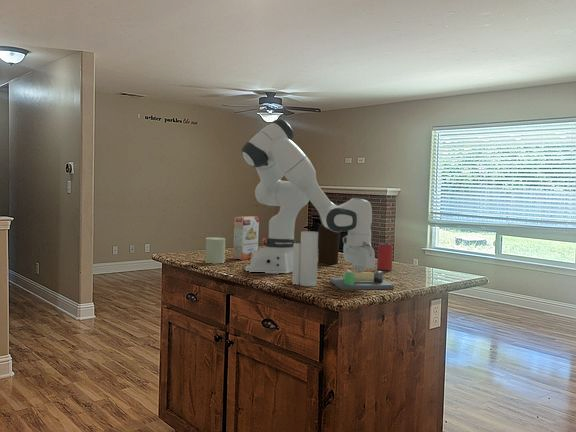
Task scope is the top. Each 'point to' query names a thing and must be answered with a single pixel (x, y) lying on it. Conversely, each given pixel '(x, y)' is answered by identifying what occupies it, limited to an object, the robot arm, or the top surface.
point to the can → (215, 250)
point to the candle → (305, 259)
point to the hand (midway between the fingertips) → (358, 276)
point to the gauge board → (358, 283)
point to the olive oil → (328, 246)
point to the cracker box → (245, 237)
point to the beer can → (385, 256)
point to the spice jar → (368, 276)
